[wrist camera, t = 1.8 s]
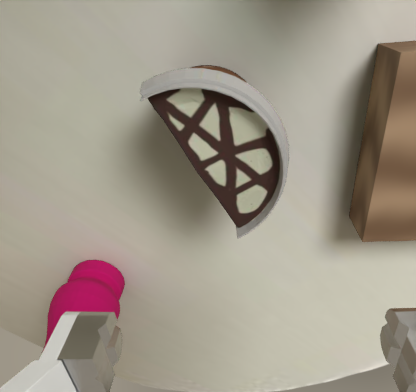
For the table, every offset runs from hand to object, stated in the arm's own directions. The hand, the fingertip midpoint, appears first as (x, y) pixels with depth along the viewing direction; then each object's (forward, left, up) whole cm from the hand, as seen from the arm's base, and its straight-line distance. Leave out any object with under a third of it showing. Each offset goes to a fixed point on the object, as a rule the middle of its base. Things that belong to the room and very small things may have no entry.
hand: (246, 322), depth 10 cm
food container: (0, 0, -22) cm, 22 cm away
